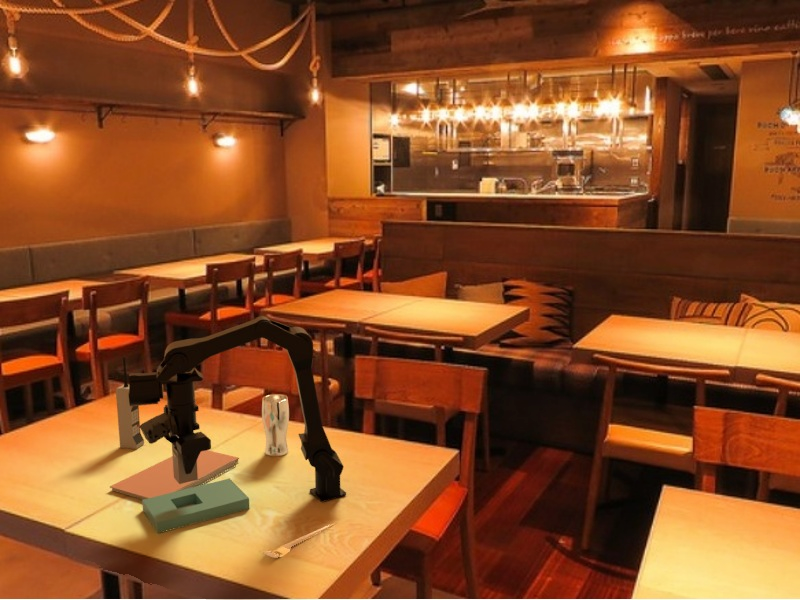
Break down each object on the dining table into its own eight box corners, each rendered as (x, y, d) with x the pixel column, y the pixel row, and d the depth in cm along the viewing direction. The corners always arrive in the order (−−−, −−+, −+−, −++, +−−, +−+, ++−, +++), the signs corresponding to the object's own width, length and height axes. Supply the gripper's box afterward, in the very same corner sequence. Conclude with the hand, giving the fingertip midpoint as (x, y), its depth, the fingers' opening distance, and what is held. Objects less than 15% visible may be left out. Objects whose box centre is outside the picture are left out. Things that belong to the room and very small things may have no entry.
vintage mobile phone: (136, 449, 192) (130, 359, 187) (120, 448, 193) (113, 358, 188) (144, 444, 196) (138, 355, 191) (127, 442, 197) (121, 354, 192)
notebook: (163, 509, 160) (162, 501, 160) (109, 493, 168) (109, 485, 167) (242, 464, 184) (242, 457, 184) (192, 452, 192) (192, 445, 191)
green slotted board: (249, 508, 159) (249, 498, 159) (157, 533, 149) (157, 522, 148) (230, 488, 169) (229, 478, 169) (142, 510, 158) (142, 499, 158)
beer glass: (287, 457, 187) (285, 402, 184) (260, 457, 187) (258, 402, 184) (291, 447, 194) (290, 393, 191) (266, 446, 194) (264, 393, 191)
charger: (197, 479, 156) (195, 444, 154) (178, 484, 154) (176, 449, 152) (192, 473, 159) (190, 438, 158) (173, 477, 157) (170, 443, 155)
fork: (342, 528, 153) (342, 519, 152) (269, 565, 138) (268, 556, 137) (332, 523, 155) (332, 515, 154) (258, 559, 140) (258, 550, 139)
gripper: (131, 396, 156) (136, 463, 159) (154, 421, 141) (159, 495, 144) (182, 387, 162) (186, 452, 165) (210, 411, 147) (213, 482, 150)
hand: (185, 469), depth 156 cm, fingers closed on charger, 4 cm apart
